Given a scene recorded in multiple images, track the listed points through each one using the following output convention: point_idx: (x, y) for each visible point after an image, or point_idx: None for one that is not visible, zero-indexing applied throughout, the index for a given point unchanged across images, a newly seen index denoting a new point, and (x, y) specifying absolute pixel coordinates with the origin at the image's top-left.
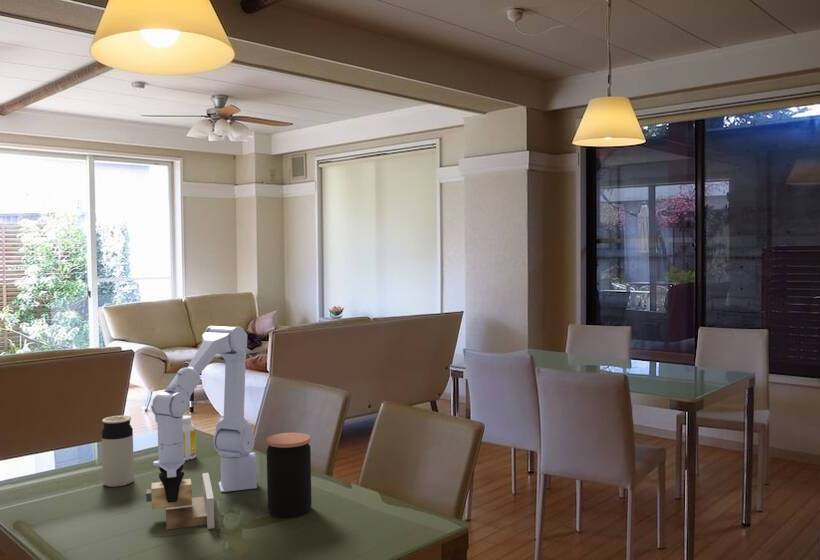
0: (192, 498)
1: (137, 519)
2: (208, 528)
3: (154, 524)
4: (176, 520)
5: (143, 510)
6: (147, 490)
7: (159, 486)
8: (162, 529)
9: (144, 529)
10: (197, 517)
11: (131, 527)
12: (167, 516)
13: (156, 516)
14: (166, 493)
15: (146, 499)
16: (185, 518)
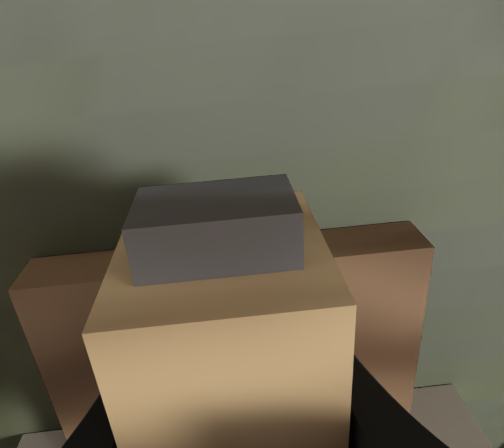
0: (400, 385)
1: (274, 45)
2: (23, 438)
3: (139, 179)
4: (30, 340)
5: (455, 71)
6: (253, 230)
7: (167, 404)
8: (38, 235)
9: (50, 122)
10: (64, 432)
11: (105, 14)
12: (98, 290)
13: (291, 176)
14: (88, 419)
15: (133, 201)
16: (46, 385)
